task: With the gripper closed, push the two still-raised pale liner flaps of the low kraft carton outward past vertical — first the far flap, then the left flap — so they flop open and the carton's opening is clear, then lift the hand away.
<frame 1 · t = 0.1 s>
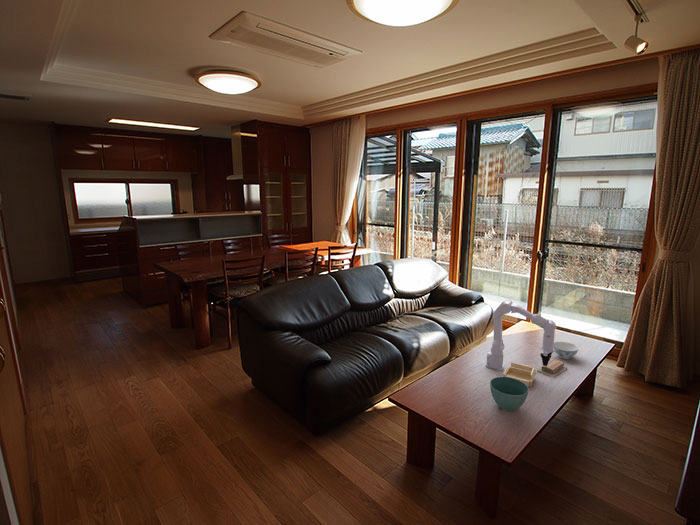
hand: (546, 363, 215), 10 cm above the table, fingers open, 7 cm apart
left flap: (521, 366, 221), point 5 cm above the table, hinge at -20.0°
carton: (519, 379, 217), on the table
chinaware: (564, 357, 245), on the table
packaged product: (551, 371, 228), on the table
teal green bowl: (507, 407, 190), on the table
far flap: (533, 373, 212), point 5 cm above the table, hinge at -20.0°
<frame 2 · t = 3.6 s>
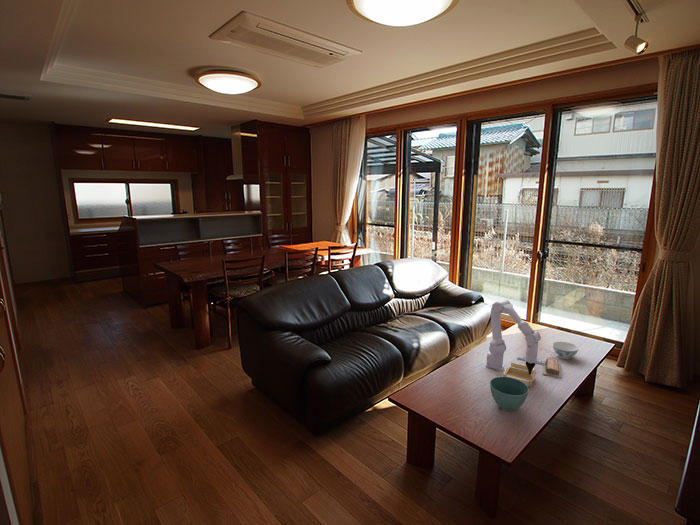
hand: (529, 374, 213), 5 cm above the table, fingers closed
far flap: (533, 373, 212), point 5 cm above the table, hinge at -16.5°, touching gripper
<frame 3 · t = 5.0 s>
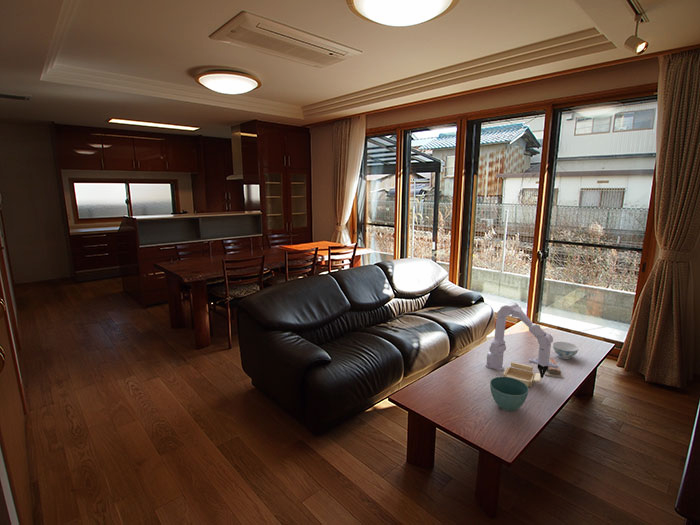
hand: (541, 377, 210), 5 cm above the table, fingers closed
far flap: (538, 377, 211), point 4 cm above the table, hinge at 77.5°
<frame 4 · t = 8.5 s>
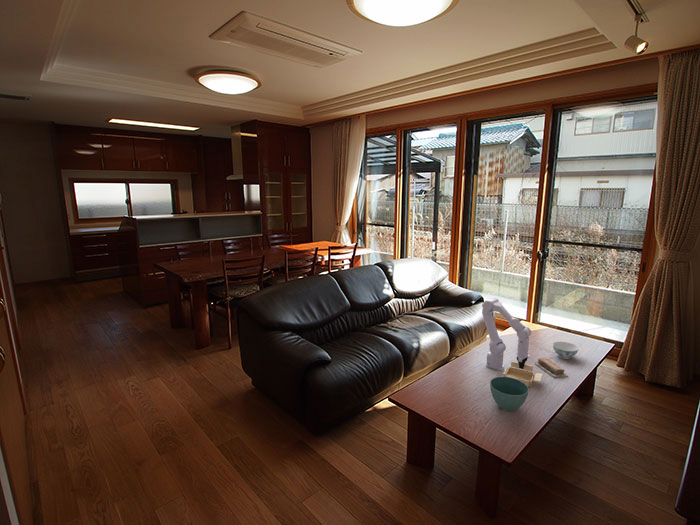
hand: (521, 368, 220), 5 cm above the table, fingers closed
left flap: (521, 366, 221), point 6 cm above the table, hinge at -5.1°, touching gripper
far flap: (538, 377, 211), point 4 cm above the table, hinge at 82.7°
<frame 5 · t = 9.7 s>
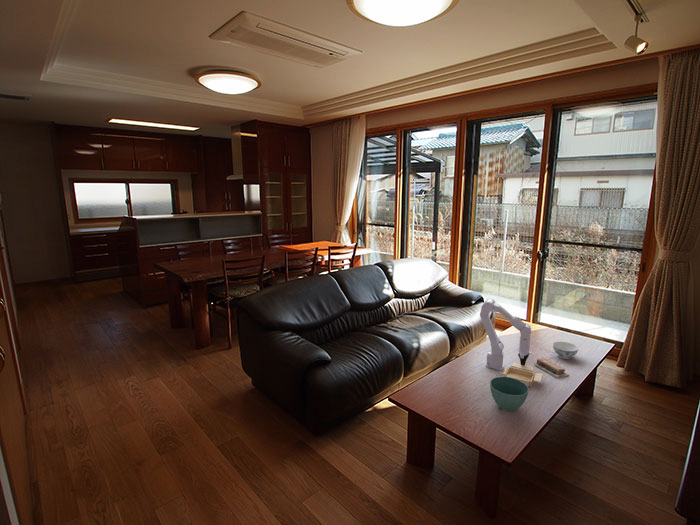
hand: (522, 364, 225), 5 cm above the table, fingers closed
left flap: (522, 367, 223), point 4 cm above the table, hinge at 77.8°
far flap: (538, 377, 211), point 4 cm above the table, hinge at 84.6°
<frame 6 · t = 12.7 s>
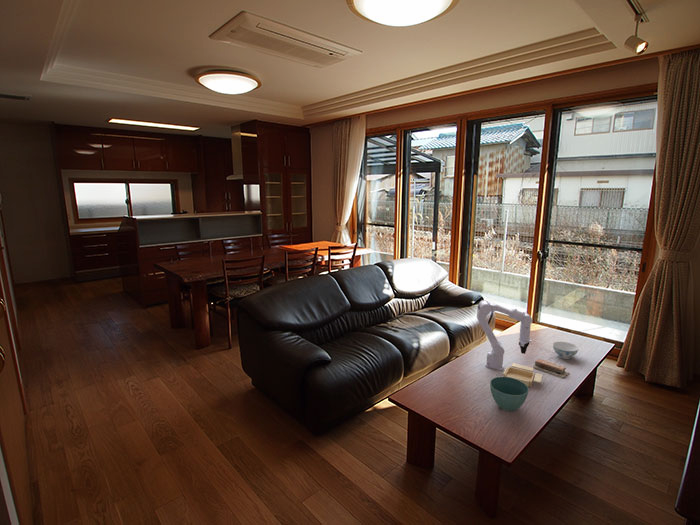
hand: (523, 353, 228), 10 cm above the table, fingers closed
left flap: (522, 367, 223), point 4 cm above the table, hinge at 82.2°
far flap: (538, 378, 211), point 4 cm above the table, hinge at 89.6°
at the end: far flap at +90° (first picture: -20°); left flap at +82° (first picture: -20°) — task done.
